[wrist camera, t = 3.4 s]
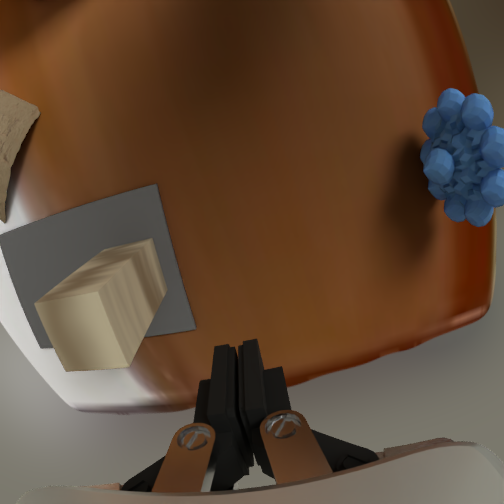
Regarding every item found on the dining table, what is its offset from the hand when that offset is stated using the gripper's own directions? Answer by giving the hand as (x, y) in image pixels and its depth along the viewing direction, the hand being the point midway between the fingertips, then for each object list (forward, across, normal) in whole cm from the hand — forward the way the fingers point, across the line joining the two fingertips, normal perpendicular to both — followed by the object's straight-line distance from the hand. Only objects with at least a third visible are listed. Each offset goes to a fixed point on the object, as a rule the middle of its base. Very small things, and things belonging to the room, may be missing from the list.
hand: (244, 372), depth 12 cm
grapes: (+17, -18, -6) cm, 26 cm away
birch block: (+16, +10, -1) cm, 19 cm away
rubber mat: (+17, +16, -1) cm, 23 cm away
